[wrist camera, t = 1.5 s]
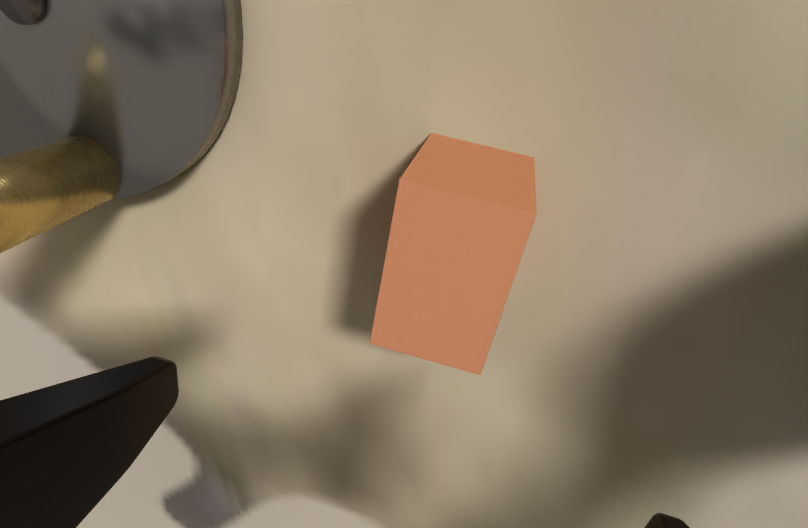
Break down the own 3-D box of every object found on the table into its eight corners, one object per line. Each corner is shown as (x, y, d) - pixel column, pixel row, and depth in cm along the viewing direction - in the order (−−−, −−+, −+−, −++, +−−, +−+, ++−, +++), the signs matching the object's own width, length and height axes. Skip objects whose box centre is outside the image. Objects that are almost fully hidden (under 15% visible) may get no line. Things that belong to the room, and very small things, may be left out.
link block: (534, 157, 17) (536, 213, 12) (490, 291, 20) (480, 375, 15) (431, 132, 17) (399, 179, 13) (403, 268, 20) (369, 343, 16)
